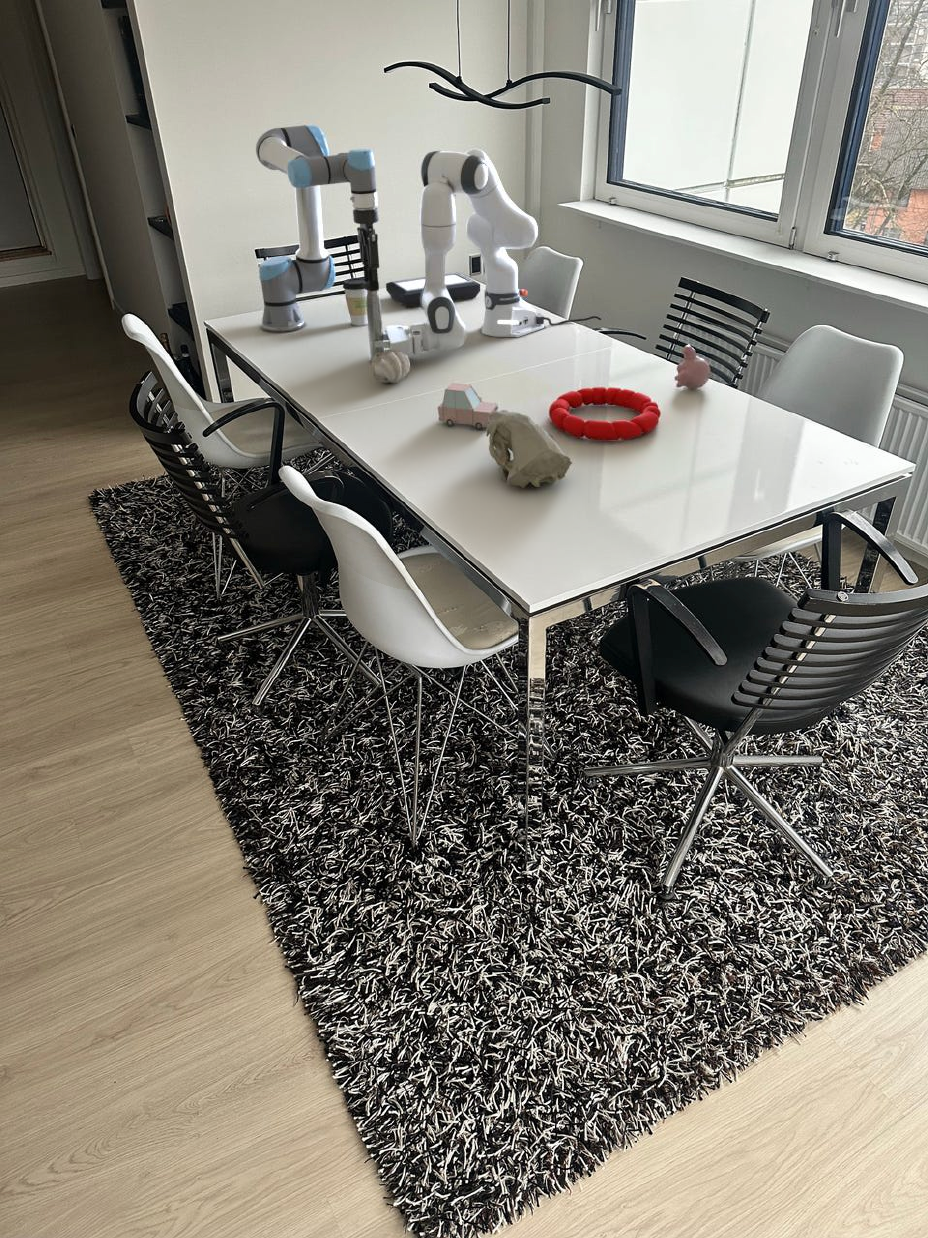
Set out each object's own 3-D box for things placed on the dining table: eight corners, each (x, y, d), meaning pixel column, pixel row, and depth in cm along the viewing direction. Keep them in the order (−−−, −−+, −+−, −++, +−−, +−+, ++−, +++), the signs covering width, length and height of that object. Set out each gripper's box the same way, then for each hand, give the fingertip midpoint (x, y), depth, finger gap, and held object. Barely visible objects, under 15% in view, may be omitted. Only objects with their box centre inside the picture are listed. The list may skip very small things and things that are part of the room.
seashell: (364, 381, 275) (361, 349, 270) (407, 372, 281) (405, 341, 275) (377, 391, 268) (374, 358, 262) (421, 382, 273) (420, 349, 268)
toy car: (488, 432, 240) (488, 396, 234) (436, 426, 244) (434, 390, 239) (499, 419, 247) (499, 384, 241) (448, 413, 252) (447, 379, 246)
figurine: (665, 387, 264) (669, 347, 257) (693, 380, 268) (698, 340, 261) (686, 396, 257) (690, 355, 250) (714, 388, 262) (720, 348, 255)
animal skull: (496, 517, 219) (521, 479, 201) (463, 429, 225) (484, 384, 207) (557, 503, 225) (586, 465, 206) (523, 417, 231) (549, 373, 212)
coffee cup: (372, 326, 323) (368, 283, 314) (345, 327, 323) (340, 284, 315) (374, 318, 331) (371, 276, 322) (348, 319, 331) (344, 277, 323)
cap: (364, 290, 276) (364, 284, 275) (364, 287, 280) (363, 280, 279) (379, 289, 277) (378, 283, 276) (378, 286, 280) (378, 279, 279)
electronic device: (403, 292, 336) (385, 281, 351) (404, 309, 340) (386, 297, 355) (480, 281, 346) (459, 270, 361) (480, 298, 350) (459, 286, 365)
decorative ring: (589, 435, 224) (684, 402, 234) (527, 398, 247) (617, 369, 256) (589, 461, 229) (683, 427, 238) (529, 422, 251) (617, 393, 260)
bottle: (385, 362, 290) (379, 285, 276) (372, 364, 289) (365, 286, 275) (383, 358, 294) (377, 281, 280) (370, 359, 293) (363, 282, 279)
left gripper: (345, 204, 271) (352, 283, 284) (361, 213, 257) (368, 296, 271) (368, 201, 273) (375, 280, 286) (386, 211, 260) (391, 293, 273)
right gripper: (411, 319, 296) (370, 322, 294) (419, 337, 279) (375, 340, 278) (412, 338, 300) (371, 341, 298) (420, 357, 283) (377, 360, 281)
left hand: (371, 288), depth 278 cm, fingers closed on cap, 4 cm apart
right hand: (373, 341), depth 288 cm, fingers closed on bottle, 4 cm apart
